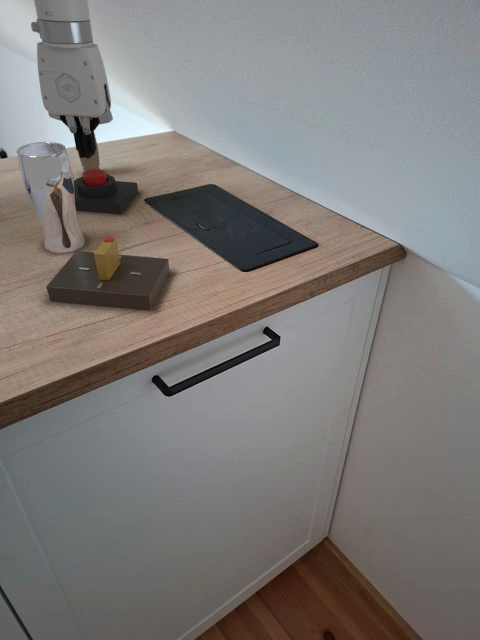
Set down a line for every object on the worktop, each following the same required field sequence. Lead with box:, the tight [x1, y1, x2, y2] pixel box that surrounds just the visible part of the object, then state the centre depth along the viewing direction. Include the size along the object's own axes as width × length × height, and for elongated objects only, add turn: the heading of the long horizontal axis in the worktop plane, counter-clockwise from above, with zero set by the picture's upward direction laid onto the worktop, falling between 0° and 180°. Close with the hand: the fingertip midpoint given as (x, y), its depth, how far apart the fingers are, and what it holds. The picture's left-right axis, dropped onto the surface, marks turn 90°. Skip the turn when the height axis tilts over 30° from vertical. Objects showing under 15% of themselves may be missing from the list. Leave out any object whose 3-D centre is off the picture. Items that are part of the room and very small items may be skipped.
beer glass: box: [16, 141, 86, 254], centre depth 74 cm, size 7×7×15 cm
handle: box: [77, 117, 101, 173], centre depth 98 cm, size 5×6×15 cm
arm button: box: [82, 169, 107, 186], centre depth 89 cm, size 4×4×2 cm
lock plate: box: [45, 250, 171, 312], centre depth 69 cm, size 14×10×3 cm
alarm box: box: [74, 173, 139, 215], centre depth 91 cm, size 12×10×4 cm
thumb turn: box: [94, 236, 120, 280], centre depth 67 cm, size 5×1×4 cm, turn 173°
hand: (87, 155), depth 87 cm, fingers closed
